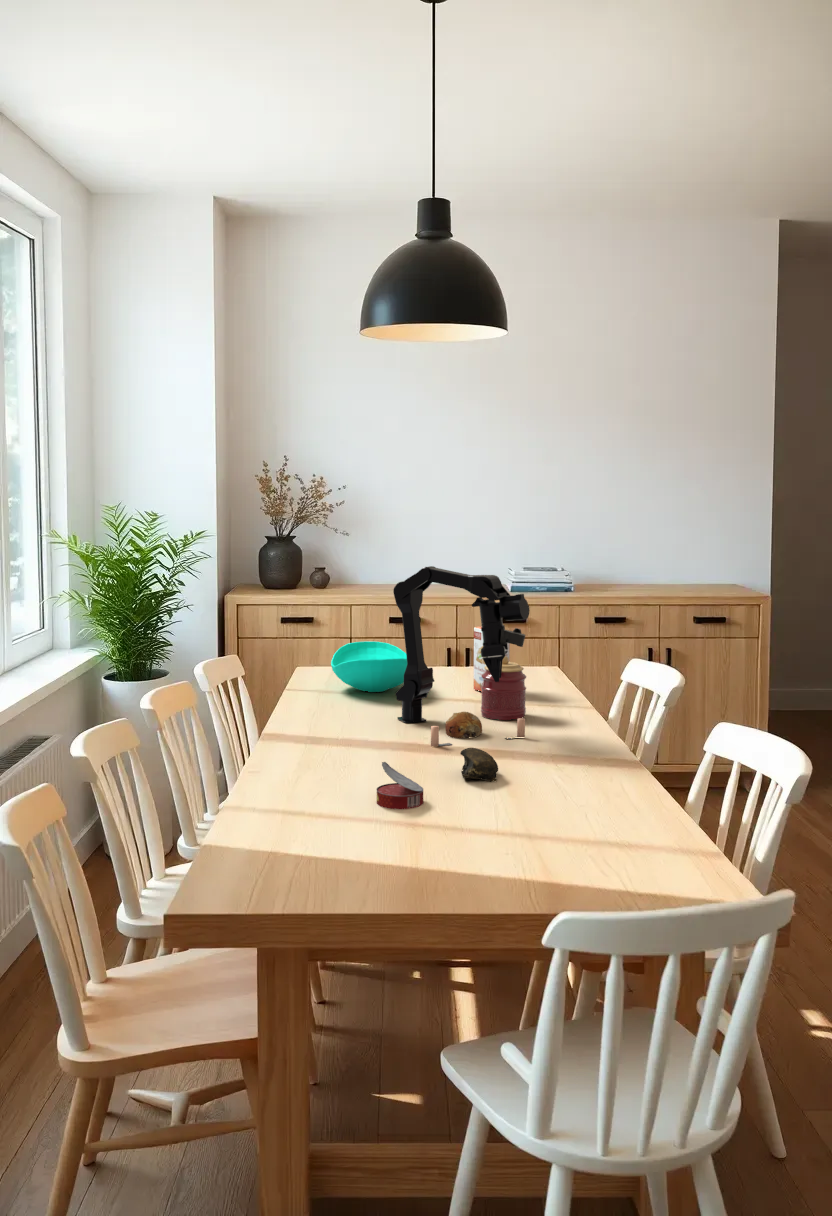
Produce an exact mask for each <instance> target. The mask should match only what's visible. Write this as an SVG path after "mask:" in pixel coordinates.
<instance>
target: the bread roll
mask: <svg viewBox="0 0 832 1216" xmlns="http://www.w3.org/2000/svg"><path fill="white" fill-rule="evenodd" d="M444 724H445V734H446V735H447V736H448V737H449V736H450V738H453V737H454V738H455V739H470V738H469V737H474V738H476V737H475V736H477V737H479V736H480V735H482V733H483V724H482V721H481V719H480V718H479V716H477V715H475V714H473V713H472V712H469V711H460V712H453V714H452V715H451V716H450V717H449V718H448V719H447V720H446V721H445V723H444Z"/></svg>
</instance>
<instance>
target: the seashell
mask: <svg viewBox="0 0 832 1216" xmlns="http://www.w3.org/2000/svg"><path fill="white" fill-rule="evenodd" d="M460 755H461V756H462V757H463V758H464V764H463V765H462V767H461V768H462V770H463V771H462V770H461V775H462V779H472V780H473V779H475V780H483V781H487V782H489V783H492V782H495V781H496V782H497V781H498V779H497V774H498V772H499V765H498V763H497V761H496V760H495V759H494V757H493V756H492V755H491V754H490V753H488V752H487V751H485V750H483V749H480V748H477V747H467V748H464V749H462V750H461V751H460Z"/></svg>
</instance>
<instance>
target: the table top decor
mask: <svg viewBox="0 0 832 1216" xmlns="http://www.w3.org/2000/svg"><path fill="white" fill-rule="evenodd" d="M330 665H331V669H332V672H333V674H334V675H335V676H336V677H337V678H338V679H339V680H340V681H341V682H343V683H344V684H346V685H348V686H350V687H352V688H354V689H355V690H359V691H363V692H365V691H368V692H367V693H376V692H377V693H379V692H380V693H382V692H385V691H387V690H390V689H393V688H396V687H398V686H400V685H402V684H404V673H405V670H406V667H407V656H406V651H403V649H401V648H399V647H398V646H396V645H393V644H392V643H388V642H382V641H355V642H349V643H346V644H344V645H342V646H340V647H339V648H338V649H337V650H336V651H335V652H334V654H333V656H332V658H331V661H330Z"/></svg>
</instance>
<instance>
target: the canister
mask: <svg viewBox="0 0 832 1216" xmlns="http://www.w3.org/2000/svg"><path fill="white" fill-rule="evenodd" d="M484 669H485V670H486V671H485V673H483V674H482V675H481V677H482V678H483V685H482V686H481V689H482V692H481V707H480V712H481V716H482V717H483V718H485V717H486V718H485V719H488V718H490V719H489V720H494V719H499V720H498V721H512V720H511V719H516V720H517V719H518V718H522V717H523V718H525V717H524V716H526V711H527V710H526V709H527V708H526V692H527V686H526V685H525V680H526V679H527V675H526V674H525V673H524V672H523V671H524V669H525V668H524V666H521V665H520V664H519V663H517V662H514V661H510V658H509V659H508V657H507V656H505V657H504V658H503V662H502V674H501V678H499V682H495V681H494V679H493V677H492V675H491V673H490V671H489V670H488V668H487V666H485V667H484Z"/></svg>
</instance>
